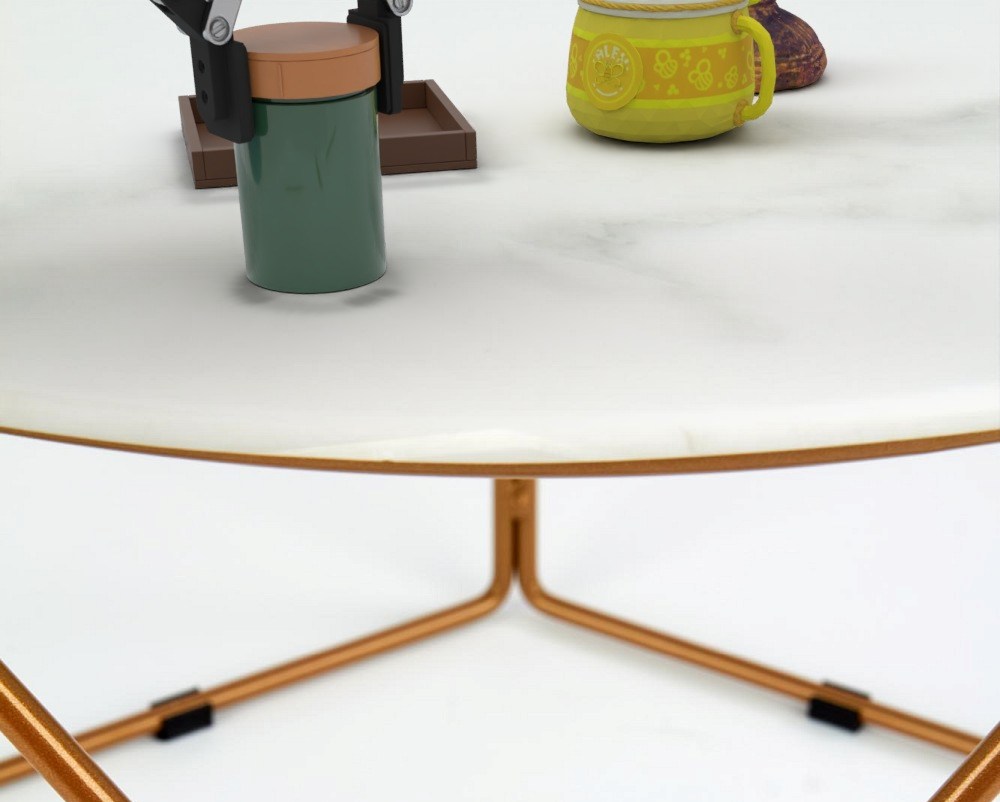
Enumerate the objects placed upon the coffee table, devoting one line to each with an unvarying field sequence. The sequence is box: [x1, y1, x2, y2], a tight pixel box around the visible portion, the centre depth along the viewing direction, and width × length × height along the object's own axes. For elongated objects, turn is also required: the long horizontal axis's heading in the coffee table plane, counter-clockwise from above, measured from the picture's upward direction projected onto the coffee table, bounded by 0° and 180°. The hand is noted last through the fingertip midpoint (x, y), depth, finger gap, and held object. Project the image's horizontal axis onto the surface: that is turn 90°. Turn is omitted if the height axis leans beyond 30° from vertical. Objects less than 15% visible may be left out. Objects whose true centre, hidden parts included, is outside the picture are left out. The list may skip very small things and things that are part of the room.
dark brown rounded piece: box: [747, 0, 828, 94], centre depth 109 cm, size 12×12×7 cm
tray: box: [177, 78, 478, 189], centre depth 97 cm, size 15×13×2 cm
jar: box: [233, 85, 387, 294], centre depth 76 cm, size 6×6×10 cm
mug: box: [565, 0, 776, 144], centre depth 95 cm, size 13×11×12 cm
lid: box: [233, 21, 381, 99], centre depth 74 cm, size 7×7×2 cm
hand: (305, 119), depth 75 cm, fingers closed on lid, 6 cm apart
